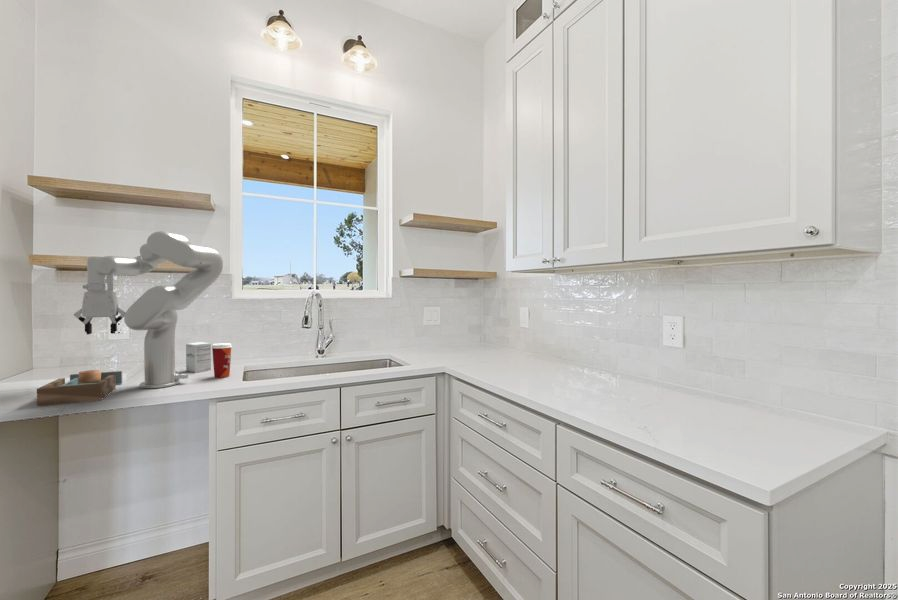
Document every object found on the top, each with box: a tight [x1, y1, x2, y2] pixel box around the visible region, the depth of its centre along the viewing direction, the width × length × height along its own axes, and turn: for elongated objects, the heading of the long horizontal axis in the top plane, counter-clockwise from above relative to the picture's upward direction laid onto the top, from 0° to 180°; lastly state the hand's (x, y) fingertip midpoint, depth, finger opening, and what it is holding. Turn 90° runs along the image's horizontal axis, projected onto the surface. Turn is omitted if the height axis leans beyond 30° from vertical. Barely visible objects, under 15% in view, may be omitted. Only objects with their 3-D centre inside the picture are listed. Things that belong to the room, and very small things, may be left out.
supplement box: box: [185, 341, 212, 373], centre depth 177 cm, size 7×7×13 cm
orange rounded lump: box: [78, 369, 102, 384], centre depth 141 cm, size 6×6×6 cm
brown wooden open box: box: [36, 375, 117, 407], centre depth 133 cm, size 16×16×6 cm
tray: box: [61, 370, 123, 386], centre depth 142 cm, size 15×15×5 cm
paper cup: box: [211, 342, 233, 379], centre depth 166 cm, size 8×8×14 cm
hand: (101, 333), depth 152 cm, fingers open, 6 cm apart
